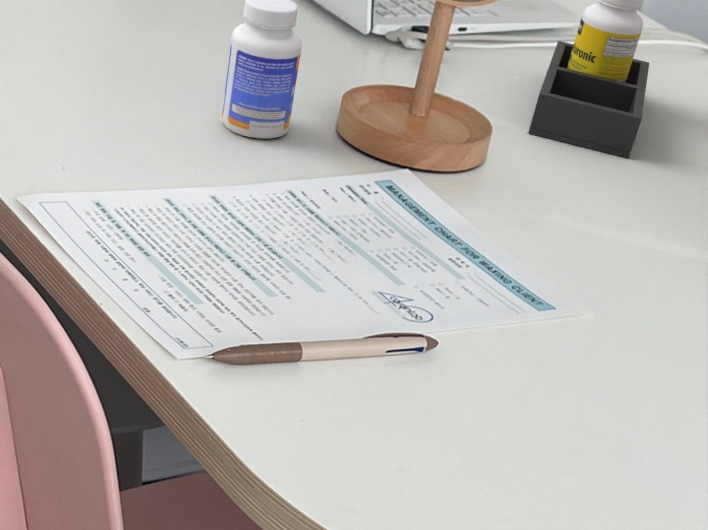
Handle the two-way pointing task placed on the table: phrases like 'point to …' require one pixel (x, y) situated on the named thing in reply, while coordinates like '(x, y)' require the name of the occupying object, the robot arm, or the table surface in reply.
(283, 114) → the pill bottle
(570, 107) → the sorting tray
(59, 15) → the table surface
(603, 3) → the supplement bottle
